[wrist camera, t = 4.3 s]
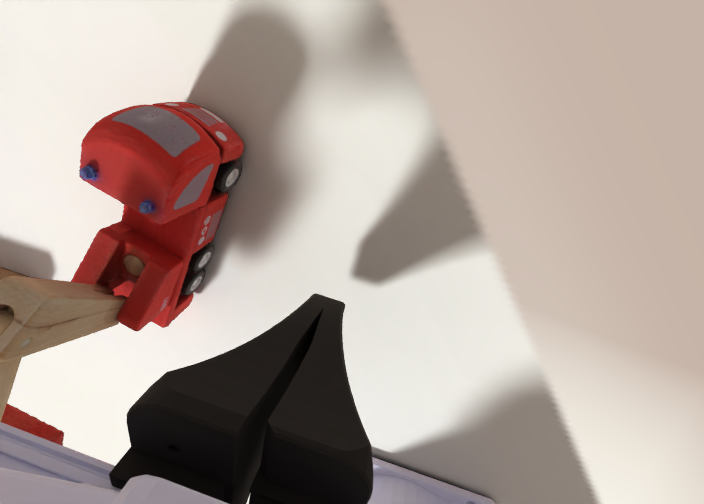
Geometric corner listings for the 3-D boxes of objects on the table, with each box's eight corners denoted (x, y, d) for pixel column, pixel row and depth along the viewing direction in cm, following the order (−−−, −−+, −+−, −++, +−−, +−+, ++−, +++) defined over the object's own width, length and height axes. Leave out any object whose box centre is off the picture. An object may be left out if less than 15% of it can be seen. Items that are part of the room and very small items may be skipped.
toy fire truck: (258, 132, 13) (-74, 224, 4) (182, 342, 19) (-7, 537, 11) (183, 86, 13) (-319, 87, 4) (131, 313, 19) (-99, 491, 11)
